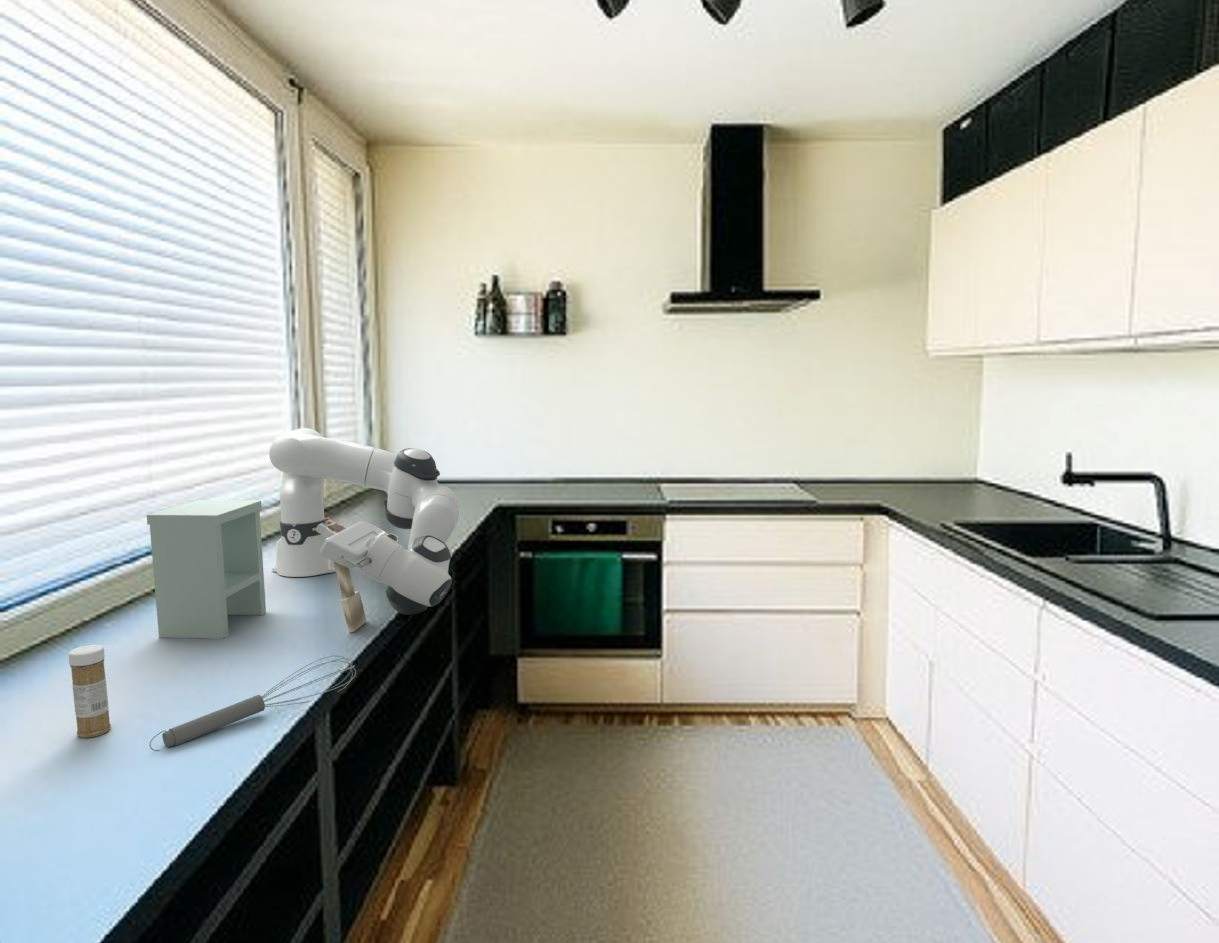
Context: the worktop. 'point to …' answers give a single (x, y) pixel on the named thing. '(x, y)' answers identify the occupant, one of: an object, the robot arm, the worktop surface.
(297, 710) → the worktop surface
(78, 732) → the sprinkles bottle
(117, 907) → the worktop surface
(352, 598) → the turner
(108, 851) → the worktop surface
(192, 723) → the kitchen whisk
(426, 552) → the robot arm
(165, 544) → the shelf
